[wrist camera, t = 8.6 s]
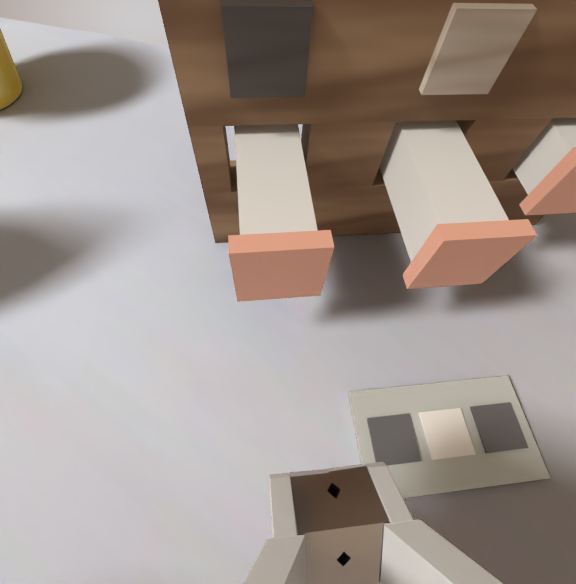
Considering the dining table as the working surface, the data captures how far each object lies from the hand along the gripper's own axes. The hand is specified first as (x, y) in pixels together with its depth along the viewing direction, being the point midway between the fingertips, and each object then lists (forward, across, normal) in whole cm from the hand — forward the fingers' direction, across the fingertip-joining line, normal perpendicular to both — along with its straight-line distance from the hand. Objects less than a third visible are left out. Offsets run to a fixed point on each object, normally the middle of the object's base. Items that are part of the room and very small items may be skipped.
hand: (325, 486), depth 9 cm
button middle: (+11, +8, +6) cm, 14 cm away
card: (+7, +8, -5) cm, 11 cm away
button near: (+11, 0, +6) cm, 12 cm away
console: (+18, +7, +6) cm, 20 cm away
